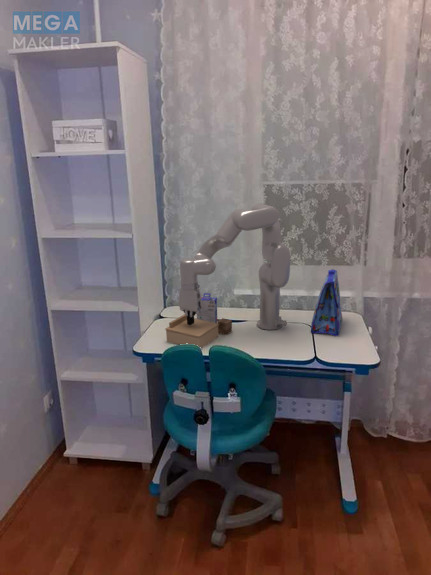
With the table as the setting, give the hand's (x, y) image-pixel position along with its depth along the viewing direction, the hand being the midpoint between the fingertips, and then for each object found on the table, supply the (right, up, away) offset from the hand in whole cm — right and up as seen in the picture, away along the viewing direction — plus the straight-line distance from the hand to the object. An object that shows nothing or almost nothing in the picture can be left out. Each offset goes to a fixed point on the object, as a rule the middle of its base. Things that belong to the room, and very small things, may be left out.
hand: (190, 323), depth 214 cm
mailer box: (+1, -7, +2) cm, 7 cm away
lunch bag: (+66, -3, +13) cm, 67 cm away
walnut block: (+16, -5, +9) cm, 19 cm away
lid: (+1, -2, 0) cm, 2 cm away
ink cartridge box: (+7, -1, +23) cm, 24 cm away
